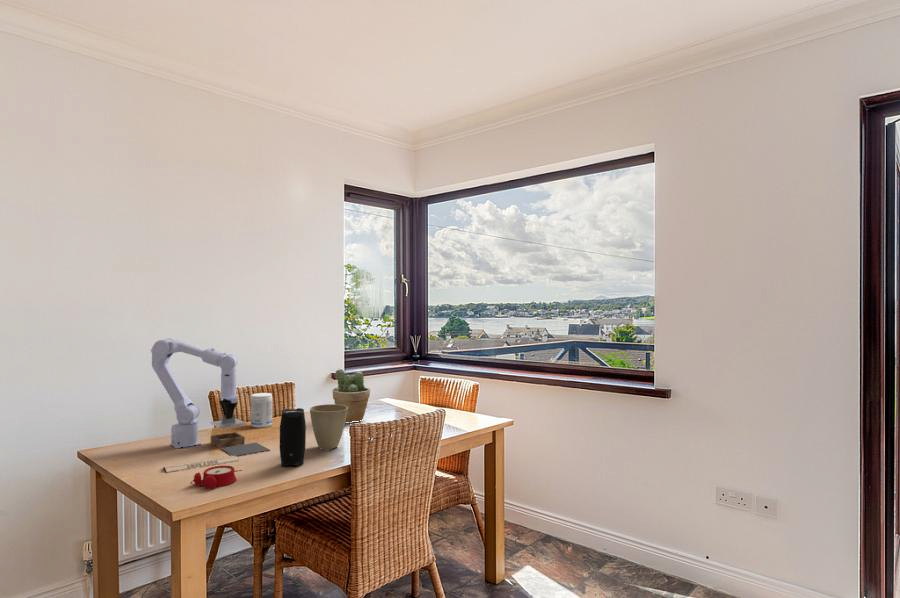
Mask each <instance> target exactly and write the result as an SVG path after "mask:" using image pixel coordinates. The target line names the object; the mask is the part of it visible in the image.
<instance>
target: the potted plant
mask: <svg viewBox="0 0 900 598" xmlns="http://www.w3.org/2000/svg"><path fill="white" fill-rule="evenodd" d="M335 377H336V380H337V387H335V388H333V389H332V398H333V400H334V404H337V405H344V406H347V407H348V410H347V416H346V421H345V422H352V421H360V420H362V419H363V420H364V416H365V413H366V410H367V407H368V402H369V399H370V397H371V396H370V395H371V388H369V387H365V386H366V385H365V381H364V379H365V376H364V373H363V372H362V371H356V372H354V373H353V374H346V373H345V370H344V369H343V368H342V369H341V368H340V369H339V368H338V369H337V370H336V371H335Z"/></svg>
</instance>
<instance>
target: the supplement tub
mask: <svg viewBox="0 0 900 598" xmlns="http://www.w3.org/2000/svg"><path fill="white" fill-rule="evenodd" d="M272 425H273V394H272V393H270V392H257V393H252V394H251V395H250V426H251V427H252V428H255V429H256V428H257V429H259V428H260V429H261V428H262V427H263V428H268V427H271V426H272Z"/></svg>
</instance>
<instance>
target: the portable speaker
mask: <svg viewBox="0 0 900 598" xmlns="http://www.w3.org/2000/svg"><path fill="white" fill-rule="evenodd" d="M280 417H281V418H280V423H279V457H280V464H281V465H280V466H281V467H284V468H286V467H288V466H294V467H295V466H296V467H301V466H303V465H304V460H305V455H306V445H307V444H306V443H307V442H306V438H307V437H306V436H307V433H306V431H307V427H306V426H307V425H306V416H305V409H304V408H298V407H297V408H292V409H289V408H284V409H282V410H281V416H280ZM302 464H303V465H302Z"/></svg>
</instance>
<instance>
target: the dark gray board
mask: <svg viewBox="0 0 900 598" xmlns="http://www.w3.org/2000/svg"><path fill="white" fill-rule="evenodd" d="M221 449H222V450H221ZM220 450H221V451H223V450H224V451H223V452H225V453H226V452H227V453H226V454H228V453H229V454H230V455H229V454H228V455H229V456H231V455H232V456H238V457H242V455H243V456H247V454H249V455H254V454H258V452H260V453H265V452H264V451H266V452H270V451H271V449H269V447H266V446H263V445H262V444H260V443H258V442H250V443H244V444H241V445H235V446H229V447H223V448H220ZM269 450H270V451H269ZM253 453H254V454H253Z"/></svg>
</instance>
